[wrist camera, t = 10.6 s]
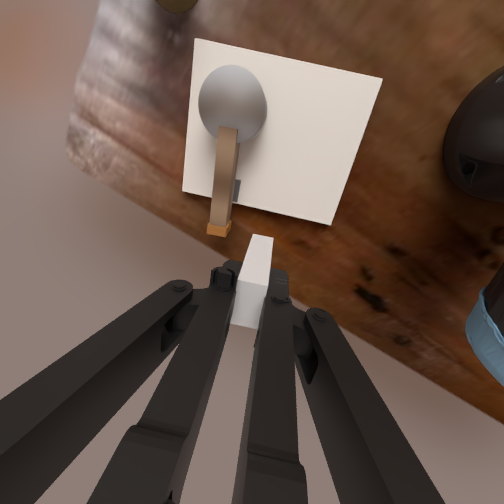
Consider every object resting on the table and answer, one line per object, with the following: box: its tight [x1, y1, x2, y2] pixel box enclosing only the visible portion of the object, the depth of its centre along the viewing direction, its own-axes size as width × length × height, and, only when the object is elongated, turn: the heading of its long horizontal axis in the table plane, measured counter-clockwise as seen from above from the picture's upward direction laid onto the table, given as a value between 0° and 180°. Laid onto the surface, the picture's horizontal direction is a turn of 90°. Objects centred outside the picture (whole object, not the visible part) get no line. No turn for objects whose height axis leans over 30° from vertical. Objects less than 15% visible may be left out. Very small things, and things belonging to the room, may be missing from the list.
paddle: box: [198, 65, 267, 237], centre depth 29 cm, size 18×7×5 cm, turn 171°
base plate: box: [182, 38, 383, 225], centre depth 31 cm, size 21×17×2 cm
